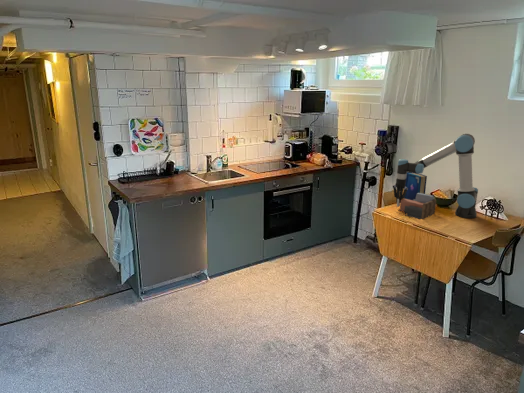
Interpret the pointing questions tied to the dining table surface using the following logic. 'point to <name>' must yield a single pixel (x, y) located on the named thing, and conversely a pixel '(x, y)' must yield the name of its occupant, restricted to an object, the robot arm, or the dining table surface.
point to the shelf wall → (428, 209)
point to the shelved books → (424, 198)
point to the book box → (409, 202)
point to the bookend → (413, 211)
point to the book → (415, 185)
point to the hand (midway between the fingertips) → (398, 206)
